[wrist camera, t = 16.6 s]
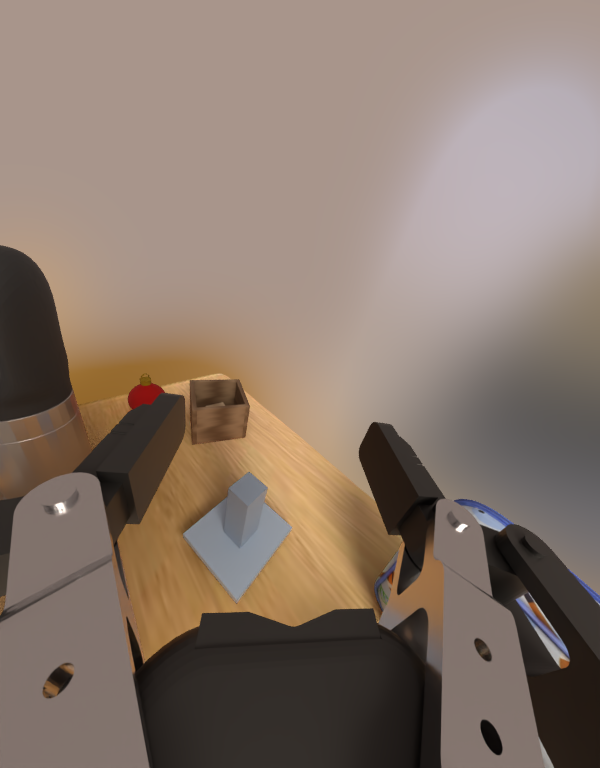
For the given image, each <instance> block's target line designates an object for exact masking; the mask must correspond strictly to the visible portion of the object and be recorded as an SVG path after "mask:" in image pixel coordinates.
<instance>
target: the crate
mask: <svg viewBox="0 0 600 768" xmlns="http://www.w3.org/2000/svg"><path fill="white" fill-rule="evenodd" d="M221 402H223V403H224V404H225V406H214V407H206V406H208V405H212V404H217V403H221ZM249 408H250V405H249V403H248V400H247V398H246V395H245V393H244V390H243V388H242V385H241V383H240V381H239V380H190V415H191V429H192V443H193V445H194V444H201V443H208V442H216V441H223V440H230V439H237V438H244V437H245V436H246V429H247V422H248V415H249Z"/></svg>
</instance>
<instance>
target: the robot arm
mask: <svg viewBox="0 0 600 768" xmlns="http://www.w3.org/2000/svg"><path fill="white" fill-rule="evenodd" d="M184 433H185V398H184V396H183V395H176V394H168V393H161V394H159V396H158V397H157V398H156V399H155V400H154V402H153V403H152V404H151V405H149V404H142V405H140V406H138V407H137V408H135V409H133V410H131V411H129V412H128V413H127V414H126V415H125V416H124V417H123V419H122V420H121V421H120V422H119V424H117V425H116V426H115V427H114V428H113V429H112V430H111V433H109V434H108V435H107V436H106V437H105V438H104V439H103V440H102V441H101V442H100V443H99V444H98V445H97V446H96V447H95V449H94V450H93V451H92V449H91V446H90V443H89V439H88V436H87V433H86V430H85V427H84V423H83V420H82V417H81V414H80V411H79V407H78V404H77V401H76V398H75V395H74V392H73V389H72V385H71V382H70V378H69V369H68V359H67V355H66V351H65V347H64V343H63V340H62V335H61V331H60V326H59V321H58V316H57V312H56V307H55V303H54V299H53V295H52V292H51V290H50V287H49V284H48V282H47V280H46V278H45V276H44V274H43V272H42V271H41V270H40V268H39V267H38V265H37V264H36V263H35V262H34V261H33V260H32V259H31V258H29V257H28V256H27V255H25V254H24V253H22V252H20V251H18V250H16V249H13V248H9V247H6V246H1V245H0V597H1V596H4V595H6V601H5V607H4V610H3V612H2V614H1V615H0V768H545V766H544V761H543V756H542V751H541V747H540V742H539V739H540V741H541V743H542V745H543V747H544V749H545V751H546V753H547V755H548V757H549V759H550V761H551V763H552V764H553V766H554V768H600V605H599V604H598V603H597V602H596V600H595V599H594V598H593V597H592V596H591V595H590V594H589V592H588V591H587V590H586V589H585V588H584V587H583V586H582V584H581V583H580V582H579V581H578V580H577V579H576V577H575V576H574V575H573V574H572V573H571V572H570V571H569V569H567V567H566V566H565V565H564V564H563V563H562V561H561V560H560V559H559V558H558V557H557V556H556V555H555V553H554V552H553V551H552V550H551V549H550V548H549V547H548V546H547V545H546V544H545V543H544V542H543V541H542V540H541V539H540V538H539V537H537V536H536V535H535V534H533V533H532V532H530V531H529V530H527V529H525V528H523V527H521V526H519V525H515V524H509V525H507V526H506V527H505V528H504V529H503V530H501V531H500V532H499V531H497V530H494V529H491V528H489V527H486V526H483V525H481V524H479V523H478V521H477V520H476V519H475V517H474V516H473V515H472V514H471V513H470V512H469V511H468V510H467V509H465V508H464V507H463V506H461V505H460V504H458V503H456V502H454V501H452V500H449V499H446V498H445V497H444V496H443V494H442V492H441V491H440V490H439V488H438V487H437V485H436V484H435V482H434V481H433V479H432V478H431V476H430V475H429V473H428V472H427V470H426V469H425V467H424V466H422V463H421V461H420V460H419V458H417V455H416V454H415V452H414V451H413V449H412V448H411V446H410V445H409V444H408V443H407V442H406V441H404V440H403V439H402V438H401V437H399V435H398V434H397V432H396V431H395V429H394V428H393V426H392V425H390V424H385V423H378V422H373V423H372V424H371V425H370V427H369V429H368V431H367V433H366V435H365V437H364V439H363V441H362V443H361V445H360V448H359V459H360V462H361V464H362V467H363V470H364V472H365V475H366V477H367V480H368V483H369V485H370V488H371V490H372V493H373V496H374V498H375V501H376V503H377V506H378V509H379V511H380V514H381V516H382V519H383V522H384V524H385V527H386V529H387V532H388V535H401V536H402V539H403V542H402V543H401V545H400V548H399V553H398V558H397V563H396V568H395V573H394V578H393V583H392V588H391V593H390V597H389V600H388V603H387V605H386V607H385V609H384V611H383V613H382V615H381V618H380V621H379V624H378V623H377V622H376V618H375V614H374V610H373V609H338V610H333V611H331V612H329V613H327V614H324V615H322V616H320V617H318V618H315V619H313V620H311V621H309V622H306V623H304V624H302V625H299V626H296V627H291V626H288V625H285V624H282V623H279V622H276V621H273V620H270V619H267V618H265V617H262V616H259V615H256V614H253V613H250V612H233V613H202V617H201V622H200V626H199V627H196V628H194V629H191V630H189V631H187V632H185V633H183V634H181V635H180V636H178V637H176V638H175V639H173V640H172V641H170V642H169V643H167V644H166V645H165V646H163V647H162V648H161V649H160V650H158V651H157V652H156V653H155V654H154V655H153V656H152V657H150V658H149V659H148V660H147V661H146V662H145V660H144V655H143V651H142V646H141V641H140V637H139V632H138V628H137V624H136V620H135V616H134V612H133V608H132V604H131V599H130V595H129V590H128V585H127V580H126V576H125V571H124V566H123V561H122V557H121V552H120V547H119V542H118V537H119V535H120V533H121V532H122V530H123V528H124V526H125V525H126V524H140V522H141V520H142V518H143V516H144V514H145V512H146V510H147V508H148V506H149V504H150V502H151V500H152V498H153V496H154V495H155V493H156V491H157V489H158V487H159V485H160V483H161V481H162V479H163V477H164V475H165V473H166V471H167V469H168V467H169V465H170V463H171V461H172V459H173V457H174V455H175V453H176V451H177V450H178V448H179V446H180V444H181V442H182V439H183V437H184ZM528 592H529V593H530V595H531V596H532V598H533V599H534V601H535V602H536V604H537V605H538V606H539V608H540V609H541V611H542V612H543V614H544V615H545V617H546V618H547V619H548V621H549V622H550V624H551V625H552V627H553V628H554V630H555V631H556V632H557V634H558V635H559V637H560V638H561V640H562V641H563V643H564V644H565V646H566V648H567V651H568V654H569V658H570V662H569V665H568V666H567V667H566V668H562V669H561V668H560V667H559V666H558V664H557V663H556V662H555V660H554V659H553V657H552V655H551V654H550V652H549V651H548V649H547V648H546V646H545V645H544V643H543V641H542V640H541V638H540V637H539V635H538V634H537V632H536V631H535V629H534V627H533V626H532V624H531V623H530V621H529V620H528V618H527V616H526V615H525V613H524V612H523V610H522V609H521V607H520V606H519V604H518V602H517V601H516V599H518V598H519V597H521V596H523V595H525V594H526V593H528Z"/></svg>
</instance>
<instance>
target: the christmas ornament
mask: <svg viewBox="0 0 600 768" xmlns="http://www.w3.org/2000/svg"><path fill="white" fill-rule="evenodd" d="M143 375H144V374H143ZM143 375H142V376H143ZM142 376H141V378H140V385H137V386H136V387H134V388H133V389H132V390H131V392H130V393H129V396H128V403H129V405H130V407H131V408H132V409H135V408H137V407H138V406H140V405H142V404H149V405H151V404H152V403H153V402H154V400H155V399H156V398H157V397H158V396H159V394H161V393H165V392H164V390H163V389H162V388H161V387H159V386H158V385H156V384H152V383H151V378H150V377H149V375H148V377H142Z"/></svg>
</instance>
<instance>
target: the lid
mask: <svg viewBox="0 0 600 768" xmlns="http://www.w3.org/2000/svg"><path fill="white" fill-rule="evenodd" d="M266 493H267V487H266V486H265V485H264V484H263V483H262V482H260V481H259V480H258V479H257V478H256V477H255V476H254V475H252V474H251V473H250V472H248V473H247V474H246V475H244V476H243V477H242V478H241V479H239V480H238V481H237V482H236V483H234V484H233V485H232V486H231V487H229V489H228V497H226V498H225V499H224V500H223V501H222V502H220V503H219V504H218V505H217V506H216V507H214V508H213V509H212V510H211V511H210V512H208V513H207V514H206V515H205V516H204V517H202V518H201V519H200V520H199V521H198V522H196V523H195V524H194V525H193V526H192V527H190V528H189V529H188V530H187V531H186V532H184V533H183V538H184V539H185V540H186V542H187V543H188V544H189V545H190V547H191V548H192V549H193V550H194V552H195V553H196V554H197V555H198V557H199V558H200V559H201V560H202V562H203V563H204V564H205V565H206V567H207V568H208V569H209V570H210V572H211V573H212V574H213V575H214V577H215V578H216V579H217V580H218V581H219V583H220V584H221V585H222V586H223V588H224V589H225V590H226V591H227V593H228V594H229V595H230V596H231V598H232V599H233V600H234V601H235V603H236V604H237V603H238V601H239V600H240V598H241V597H242V596H243V594H244V593H245V592H246V590H247V589H248V588H249V586H250V585H251V584H252V582H253V581H254V580H255V578H256V577H257V576H258V574H259V573H260V572H261V570H262V569H263V568H264V566H265V565H266V564H267V562H268V561H269V560H270V558H271V557H272V556H273V554H274V553H275V552H276V550H277V549H278V548H279V546H280V545H281V544H282V542H283V541H284V540H285V538H286V537H287V536H288V534H289V533H290V531H291V529H292V527H291V526H290V525H289V524H288V523H287V522H286V521H284V520H283V519H282V518H281V517H280V516H279V515H278V514H277V513H276V512H274V511H273V510H272V509H271V508H270V507H269V506H268V505H267V504H266V503H265V502H264V501H265V497H266Z"/></svg>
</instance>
